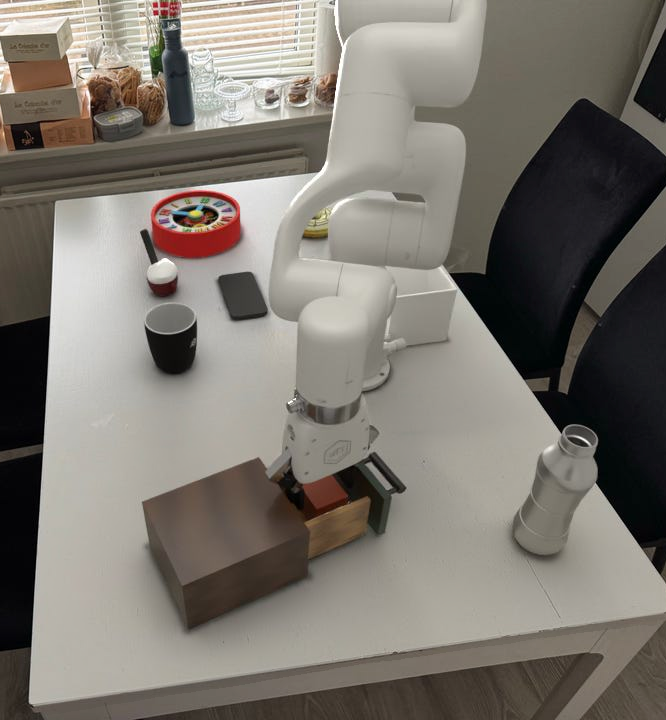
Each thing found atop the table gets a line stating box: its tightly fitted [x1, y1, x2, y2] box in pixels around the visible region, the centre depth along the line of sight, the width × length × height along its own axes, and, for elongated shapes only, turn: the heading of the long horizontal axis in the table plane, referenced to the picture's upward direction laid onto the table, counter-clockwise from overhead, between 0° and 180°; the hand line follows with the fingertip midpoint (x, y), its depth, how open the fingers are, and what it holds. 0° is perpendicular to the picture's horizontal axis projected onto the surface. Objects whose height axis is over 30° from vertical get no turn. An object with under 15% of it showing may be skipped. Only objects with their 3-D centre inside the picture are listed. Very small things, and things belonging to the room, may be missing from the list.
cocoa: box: [139, 228, 179, 297], centre depth 137 cm, size 10×6×12 cm, turn 12°
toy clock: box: [150, 189, 242, 259], centre depth 155 cm, size 20×6×20 cm
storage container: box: [385, 266, 458, 347], centre depth 128 cm, size 25×11×11 cm, turn 7°
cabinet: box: [141, 456, 310, 630], centre depth 88 cm, size 17×13×10 cm
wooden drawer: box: [266, 451, 407, 560], centre depth 92 cm, size 20×12×8 cm, turn 113°
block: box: [300, 474, 349, 521], centre depth 92 cm, size 5×5×5 cm
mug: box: [143, 302, 198, 375], centre depth 121 cm, size 12×9×10 cm
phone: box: [217, 270, 269, 320], centre depth 137 cm, size 7×1×15 cm
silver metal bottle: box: [512, 424, 599, 556], centre depth 84 cm, size 6×7×20 cm
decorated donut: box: [302, 206, 333, 238], centre depth 154 cm, size 10×11×4 cm
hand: (320, 490), depth 91 cm, fingers open, 7 cm apart
